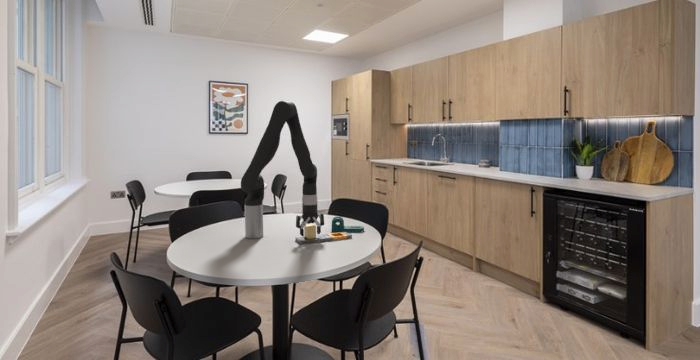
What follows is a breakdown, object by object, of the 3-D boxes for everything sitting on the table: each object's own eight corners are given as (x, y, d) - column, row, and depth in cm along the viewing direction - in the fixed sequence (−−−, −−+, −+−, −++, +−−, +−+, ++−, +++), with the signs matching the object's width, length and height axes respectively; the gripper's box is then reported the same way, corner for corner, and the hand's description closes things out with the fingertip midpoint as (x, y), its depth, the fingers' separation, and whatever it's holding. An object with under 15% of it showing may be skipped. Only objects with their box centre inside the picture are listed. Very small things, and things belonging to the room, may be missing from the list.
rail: (295, 240, 200) (295, 237, 199) (345, 234, 212) (345, 231, 212) (300, 244, 192) (300, 241, 192) (351, 238, 205) (351, 235, 204)
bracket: (331, 232, 217) (331, 218, 216) (331, 229, 223) (331, 216, 222) (364, 232, 217) (364, 218, 216) (363, 229, 224) (363, 216, 223)
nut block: (304, 240, 200) (304, 225, 199) (312, 239, 202) (312, 224, 201) (307, 242, 196) (307, 227, 195) (316, 241, 198) (315, 226, 197)
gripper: (320, 201, 203) (320, 231, 205) (293, 203, 197) (294, 234, 199) (325, 203, 196) (326, 235, 198) (298, 205, 190) (299, 238, 192)
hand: (310, 234), depth 198 cm, fingers open, 8 cm apart
